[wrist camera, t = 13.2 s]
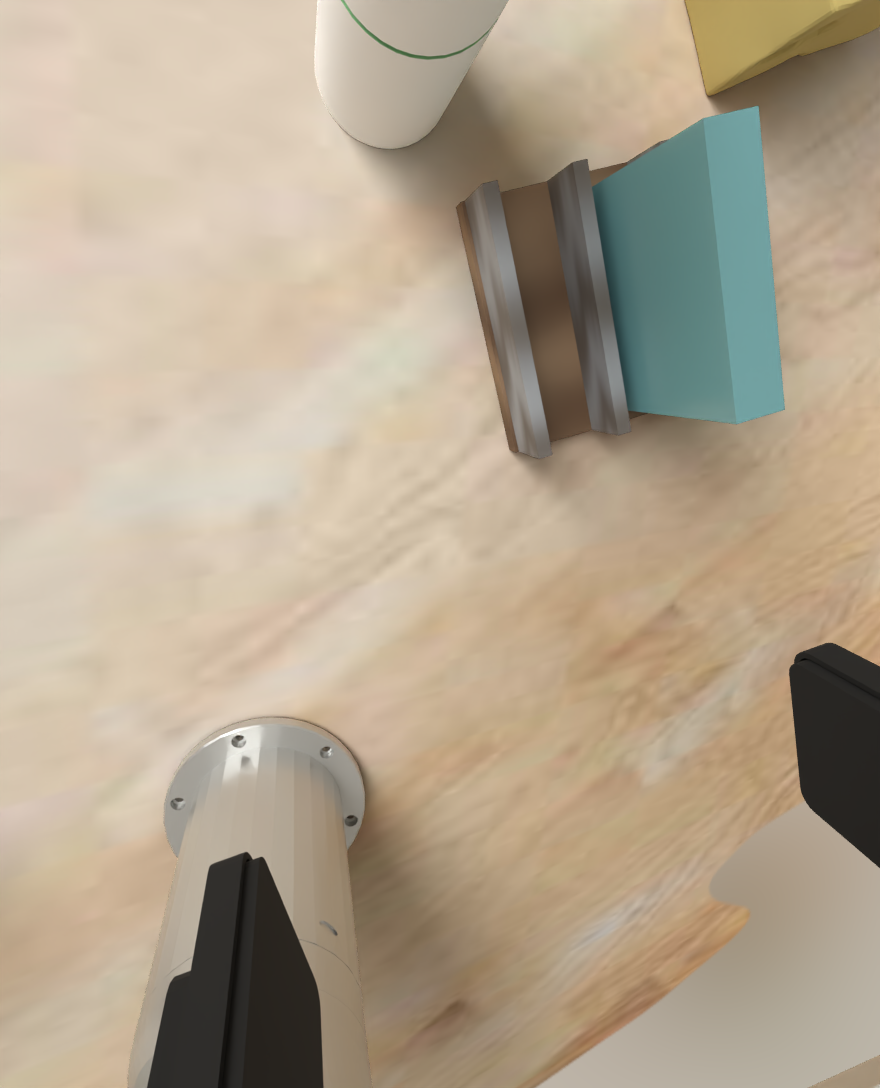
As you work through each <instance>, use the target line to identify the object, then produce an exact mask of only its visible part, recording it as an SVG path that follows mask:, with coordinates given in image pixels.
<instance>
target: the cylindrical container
mask: <svg viewBox="0 0 880 1088" xmlns="http://www.w3.org/2000/svg"><path fill="white" fill-rule="evenodd" d="M507 2H508V0H318V1H317V19H316V37H315V54H314V62H315V76H316V81H317V85H318V90H319V92H320V95H321V97H322V99H323V102H324V104H325V106H326V108H327V109H328V111H329V113H330V114H331V116H332V117H333V119H334V120H335V121H336V122H337V123H338V124H339V125H340V127H341V128H342V129H343V130H344V131H346V132H347V133H348V134H349V135H351V136H352V137H353V138H355V139H356V140H358V141H360V142H362V143H364V144H366V145H370V146H373V147H377V148H384V149H396V148H402V147H406V146H409V145H411V144H413V143H416V142H418V141H419V140H421V139H422V138H423V137H425V136H426V135H427V134H429V133H430V131H431V130H432V129H433V128H434V127H435V126H436V125H437V123H438V122H439V120H440V118H441V116H442V115H443V113H444V111H445V110H446V108H447V106H448V104H449V103H450V101H451V99H452V97H453V96H454V94H455V92H456V90H457V89H458V87H459V85H460V84H461V82H462V80H463V78H464V77H465V75H466V73H467V71H468V70H469V68H470V66H471V65H472V63H473V61H474V59H475V58H476V56H477V54H478V52H479V51H480V49H481V47H482V46H483V44H484V42H485V40H486V39H487V37H488V35H489V33H490V32H491V30H492V28H493V26H494V25H495V23H496V21H497V20H498V18H499V16H500V14H501V13H502V11H503V9H504V7H505V6H506V4H507Z"/></svg>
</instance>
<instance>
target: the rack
mask: <svg viewBox="0 0 880 1088" xmlns="http://www.w3.org/2000/svg"><path fill="white" fill-rule="evenodd" d="M666 141H667V140H665V141H661V142H658V143H657V144H655V145H654V146H652V147H650V148H649V149H647V150H646V151H644V152H642V153H641V154H639V155H638V156H636V157H634V158H633V159H631V160H630V161H628V162H626V163H622V164H617V165H613V166H609V167H605V168H601V169H597V170H592V171H589V166H588V160H587V159H585V160H580V161H576V162H572V163H571V164H570V165H568V166H567V167H566V168H564V169H563V170H562V171H560V172H559V173H558V174H556V175H555V176H554V177H552V178H551V179H550V180H548V181H547V182H542V183H538V184H534V185H530V186H526V187H522V188H517V189H513V190H509V191H505V192H501V193H500V191H499V186H498V181H497V180H496V181H492V182H488V183H483V184H481V185H480V186H479V187H478V188H477V189H476V190H475V191H474V192H473V193H472V194H471V195H470V196H469V197H468V198H467V199H466V200H465V201H463V202H461V203H460V204H459V205H458V206H457V207H456V209H457V214H458V218H459V223H460V227H461V232H462V236H463V241H464V245H465V250H466V254H467V259H468V263H469V268H470V272H471V277H472V282H473V286H474V291H475V295H476V300H477V304H478V309H479V313H480V318H481V322H482V327H483V331H484V336H485V340H486V345H487V350H488V354H489V359H490V363H491V368H492V372H493V377H494V381H495V386H496V390H497V395H498V399H499V404H500V408H501V413H502V418H503V422H504V427H505V431H506V436H507V440H508V445H509V449H510V450H511V451H513V452H522V453H524V454H527V455H530V456H532V457H535V458H538V459H541V458H544V457H548V456H551V455H552V450H551V445H550V442H553V441H556V440H559V439H563V438H566V437H570V436H573V435H576V434H580V433H583V432H587V431H590V430H595V431H599V432H604V433H609V434H614V435H621V434H625V433H628V432H631V427H630V420H629V419H631V418H634V417H637V416H641V415H644V414H647V413H644V412H636V411H628V408H627V402H626V396H625V389H624V383H623V377H622V371H621V365H620V358H619V352H618V346H617V340H616V334H615V327H614V321H613V315H612V309H611V303H610V296H609V290H608V284H607V278H606V272H605V265H604V259H603V253H602V247H601V241H600V234H599V228H598V222H597V216H596V210H595V204H594V197H593V191H592V187H593V186H594V185H596V184H597V183H599V182H601V181H602V180H604V179H606V178H607V177H609V176H610V175H612V174H614V173H615V172H617V171H619V170H620V169H622V168H623V167H625V166H627V165H628V164H630V163H632V162H633V161H635V160H636V159H638V158H640V157H641V156H643V155H645V154H646V153H648V152H649V151H651V150H653V149H654V148H656V147H658V146H659V145H661V144H662V143H664V142H666Z"/></svg>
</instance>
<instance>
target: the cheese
mask: <svg viewBox="0 0 880 1088" xmlns="http://www.w3.org/2000/svg"><path fill="white" fill-rule="evenodd" d="M685 3H686V7H687V11H688V14H689V18H690V23H691V27H692V31H693V36H694V40H695V44H696V49H697V53H698V58H699V62H700V67H701V71H702V76H703V80H704V85H705V90H706V93H707V95H709V96H710V95H714V94H716V93H719V92H721V91H723V90H725V89H728V88H730V87H732V86H734V85H737V84H739V83H741V82H743V81H745V80H748V79H750V78H752V77H754V76H757V75H759V74H761V73H763V72H765V71H767V70H769V69H771V68H773V67H775V66H776V65H778V64H780V63H782V62H784V61H786V60H787V59H789V58H792V57H794V56H796V55H800V56H804V55H808V54H811V53H813V52H816V51H819V50H822V49H824V48H828V47H831V46H834V45H837V44H841V43H844V42H847V41H850V40H853V39H855V38H858V37H860V36H862V35H865V34H867V33H869V32H871V31H873V30H874V29H876V28H878V27H880V0H685Z"/></svg>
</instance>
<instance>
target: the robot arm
mask: <svg viewBox="0 0 880 1088" xmlns="http://www.w3.org/2000/svg"><path fill="white" fill-rule="evenodd" d="M789 676H790V686H791V696H792V706H793V717H794V727H795V737H796V747H797V757H798V767H799V778H800V788H801V792H802V795H803V797H804V799H805V801H806V803H807V804H808V805H809V807H810V808H811V809H812V810H813V811H814V812H815V813H816V814H817V815H818V816H820V817H821V818H822V819H823V820H824V821H825V822H827V823H828V824H829V825H830V826H831V827H832V828H834V829H835V830H836V831H837V832H838V833H840V834H841V835H842V836H843V837H844V838H845V839H847V840H848V841H849V842H850V843H851V844H852V845H854V846H855V847H856V848H857V849H858V850H859V851H861V852H862V853H863V854H864V855H865V856H866V857H868V858H869V859H870V860H871V861H872V862H873V863H875V864H876V865H877V866H878V867H879V868H880V667H879V666H877V665H876V664H874V663H872V662H870V661H868V660H866V659H864V658H862V657H860V656H858V655H856V654H854V653H852V652H850V651H848V650H846V649H844V648H842V647H840V646H838V645H836V644H833V643H825V644H823V645H820V646H817V647H814V648H811V649H809V650H806V651H803V652H800V653H799V654H797V655H796V657H795V660H794V664H793V665H792V666H791V667H790V669H789ZM237 735H241V736H242V737H238V736H237ZM327 746H328V747H327ZM324 747H327V748H324ZM364 811H365V791H364V785H363V779H362V776H361V773H360V770H359V767H358V764H357V763H356V761H355V759H354V758H353V756H352V755H351V753H350V751H349V750H348V749H347V748H346V747H345V746H344V745H343V744H342V743H341V742H340V741H339V740H338V739H337V738H336V737H334V736H333V735H331V734H330V733H328V732H327V731H325V730H324V729H322V728H319V727H317V726H315V725H312V724H310V723H308V722H303V721H299V720H295V719H290V718H275V717H267V718H258V719H250V720H246V721H243V722H240V723H236V724H233V725H230V726H228V727H226V728H224V729H221V730H219V731H217V732H215V733H213V734H212V735H210V736H209V737H208V738H206V739H205V740H203V741H202V742H200V743H199V744H198V745H197V746H196V747H195V748H194V749H193V750H192V751H191V752H190V753H189V754H188V755H187V756H186V757H185V758H184V759H183V761H182V762H181V764H180V766H179V767H178V769H177V770H176V772H175V773H174V776H173V778H172V781H171V783H170V786H169V789H168V792H167V795H166V799H165V803H164V827H165V832H166V837H167V840H168V842H169V844H170V846H171V848H172V851H173V853H174V854H175V856H176V857H177V858H178V860H177V864H176V868H175V872H174V877H173V881H172V885H171V889H170V893H169V897H168V901H167V905H166V909H165V913H164V917H163V921H162V926H161V930H160V934H159V938H158V942H157V946H156V950H155V954H154V958H153V962H152V966H151V971H150V975H149V979H148V983H147V987H146V991H145V995H144V999H143V1003H142V1008H141V1012H140V1017H139V1020H138V1024H137V1028H136V1033H135V1037H134V1041H133V1045H132V1050H131V1054H130V1061H129V1068H128V1088H373V1086H372V1078H371V1071H370V1063H369V1055H368V1047H367V1038H366V1029H365V1020H364V1011H363V999H362V989H361V979H360V970H359V960H358V951H357V941H356V932H355V922H354V913H353V903H352V894H351V884H350V875H349V865H348V855H347V850H348V849H349V847H350V846H351V845H352V843H353V842H354V840H355V838H356V836H357V834H358V832H359V829H360V827H361V825H362V820H363V816H364ZM809 1088H880V1055H879V1056H877V1057H874V1058H872V1059H870V1060H868V1061H866V1062H864V1063H861V1064H859V1065H857V1066H855V1067H853V1068H850V1069H848V1070H846V1071H844V1072H841V1073H839V1074H838V1075H835V1076H833V1077H831V1078H828V1079H826V1080H824V1081H822V1082H820V1083H817V1084H815V1085H813V1086H811V1087H809Z"/></svg>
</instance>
